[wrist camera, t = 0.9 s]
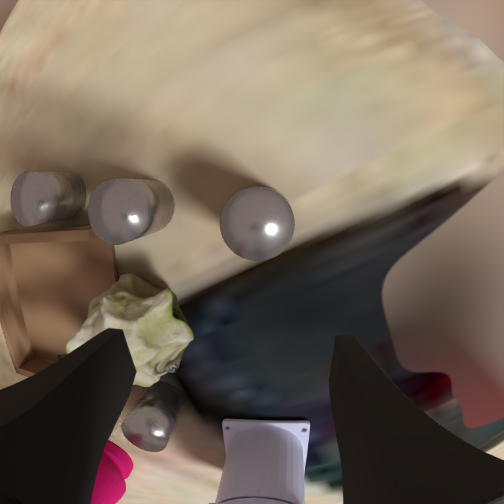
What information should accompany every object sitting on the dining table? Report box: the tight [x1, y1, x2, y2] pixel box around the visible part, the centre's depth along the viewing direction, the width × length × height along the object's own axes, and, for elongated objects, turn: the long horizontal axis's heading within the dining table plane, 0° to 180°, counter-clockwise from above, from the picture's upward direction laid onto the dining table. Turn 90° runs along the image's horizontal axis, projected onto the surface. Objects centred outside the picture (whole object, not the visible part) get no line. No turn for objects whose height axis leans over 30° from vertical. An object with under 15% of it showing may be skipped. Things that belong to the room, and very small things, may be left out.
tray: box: [0, 225, 134, 387], centre depth 24 cm, size 15×14×4 cm
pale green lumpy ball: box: [57, 273, 194, 387], centre depth 21 cm, size 9×9×8 cm
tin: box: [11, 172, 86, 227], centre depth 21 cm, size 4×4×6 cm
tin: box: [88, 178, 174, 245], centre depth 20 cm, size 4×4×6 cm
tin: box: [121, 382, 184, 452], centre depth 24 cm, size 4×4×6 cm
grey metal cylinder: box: [220, 186, 295, 261], centre depth 19 cm, size 4×4×6 cm
